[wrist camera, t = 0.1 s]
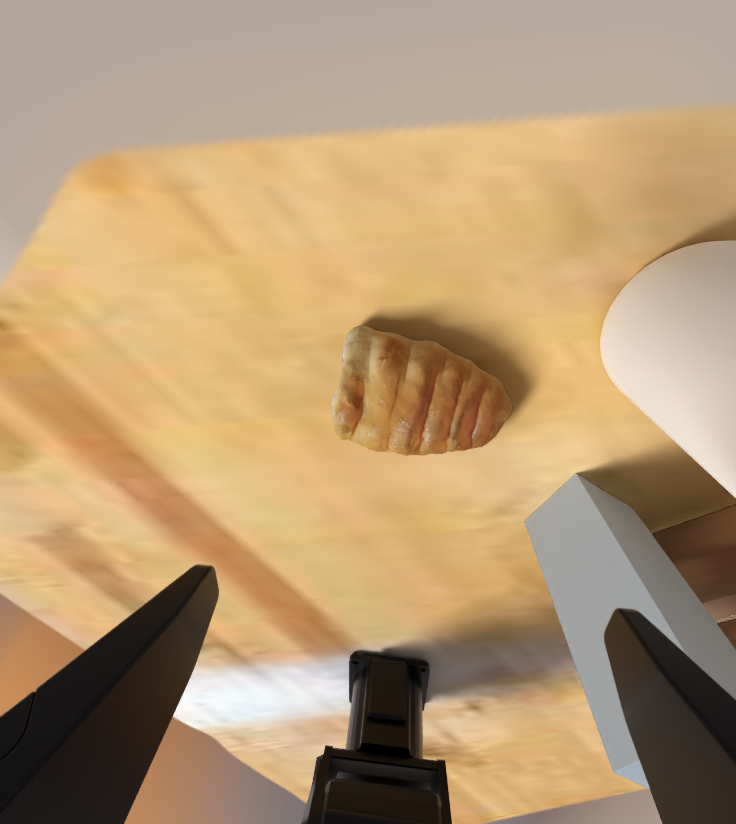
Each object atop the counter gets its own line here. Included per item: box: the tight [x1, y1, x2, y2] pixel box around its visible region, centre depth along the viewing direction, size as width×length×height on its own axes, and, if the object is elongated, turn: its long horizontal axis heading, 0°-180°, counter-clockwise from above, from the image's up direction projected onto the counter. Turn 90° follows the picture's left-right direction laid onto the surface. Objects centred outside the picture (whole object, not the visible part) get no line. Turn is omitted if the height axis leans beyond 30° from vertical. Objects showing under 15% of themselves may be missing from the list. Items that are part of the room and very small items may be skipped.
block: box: [524, 474, 736, 789], centre depth 20 cm, size 4×4×13 cm
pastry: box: [331, 326, 512, 455], centre depth 21 cm, size 9×7×4 cm
